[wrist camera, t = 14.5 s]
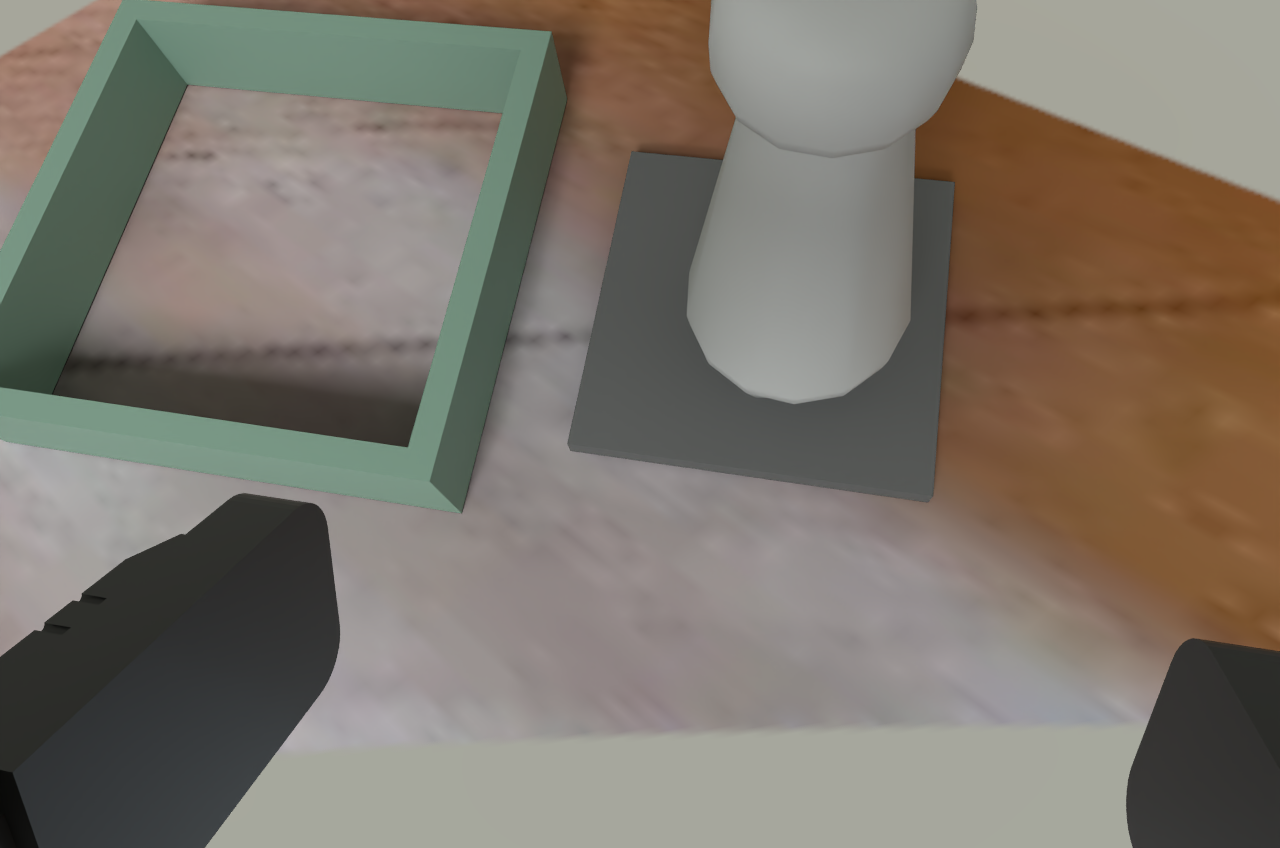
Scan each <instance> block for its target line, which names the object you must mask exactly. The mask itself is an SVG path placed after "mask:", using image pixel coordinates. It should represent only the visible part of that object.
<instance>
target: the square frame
mask: <svg viewBox="0 0 1280 848" xmlns="http://www.w3.org/2000/svg"><path fill="white" fill-rule="evenodd" d="M187 85H198V86H209V87H220V88H231V89H242V90H253V91H264V92H275V93H286V94H297V95H308V96H319V97H330V98H341V99H352V100H363V101H374V102H385V103H396V104H407V105H418V106H429V107H440V108H451V109H462V110H473V111H484V112H495V113H503V114H502V118H501V121H500V125H499V128H498V132H497V135H496V139H495V142H494V146H493V149H492V153H491V156H490V160H489V163H488V167H487V170H486V174H485V178H484V181H483V185H482V188H481V192H480V195H479V199H478V202H477V206H476V209H475V213H474V216H473V220H472V223H471V227H470V230H469V234H468V237H467V241H466V244H465V248H464V252H463V255H462V259H461V262H460V266H459V269H458V273H457V276H456V280H455V283H454V287H453V290H452V294H451V297H450V301H449V304H448V308H447V311H446V315H445V318H444V322H443V326H442V329H441V333H440V336H439V340H438V343H437V347H436V350H435V354H434V357H433V361H432V364H431V368H430V371H429V375H428V378H427V382H426V385H425V389H424V392H423V396H422V400H421V403H420V407H419V410H418V414H417V417H416V421H415V424H414V428H413V431H412V435H411V438H410V442H409V445H408V448H407V447H401V446H394V445H387V444H380V443H374V442H367V441H360V440H353V439H347V438H340V437H333V436H326V435H319V434H313V433H306V432H299V431H292V430H286V429H279V428H272V427H265V426H259V425H252V424H245V423H238V422H232V421H225V420H218V419H211V418H205V417H198V416H191V415H184V414H177V413H171V412H164V411H157V410H150V409H144V408H137V407H130V406H123V405H117V404H110V403H103V402H96V401H90V400H83V399H76V398H69V397H63V396H56V395H52V393H53V390H54V388H55V386H56V383H57V381H58V379H59V377H60V374H61V372H62V370H63V367H64V365H65V363H66V361H67V358H68V356H69V354H70V351H71V349H72V347H73V345H74V342H75V340H76V338H77V335H78V333H79V331H80V329H81V326H82V324H83V322H84V319H85V317H86V315H87V313H88V310H89V308H90V306H91V303H92V301H93V299H94V297H95V294H96V292H97V290H98V288H99V285H100V283H101V281H102V278H103V276H104V274H105V272H106V269H107V267H108V265H109V262H110V260H111V258H112V256H113V253H114V251H115V249H116V246H117V244H118V242H119V240H120V237H121V235H122V233H123V230H124V228H125V226H126V224H127V221H128V219H129V217H130V214H131V212H132V210H133V208H134V205H135V203H136V201H137V198H138V196H139V194H140V192H141V189H142V187H143V185H144V182H145V180H146V178H147V176H148V173H149V171H150V169H151V166H152V164H153V162H154V160H155V157H156V155H157V153H158V150H159V148H160V146H161V144H162V141H163V139H164V137H165V134H166V132H167V130H168V128H169V125H170V123H171V121H172V118H173V116H174V114H175V112H176V109H177V107H178V105H179V102H180V100H181V98H182V96H183V93H184V91H185V89H186V86H187ZM566 102H567V96H566V92H565V88H564V83H563V79H562V75H561V70H560V66H559V62H558V57H557V53H556V49H555V44H554V40H553V36H552V32H551V31H538V30H525V29H512V28H499V27H486V26H473V25H460V24H447V23H434V22H421V21H408V20H395V19H382V18H369V17H356V16H343V15H330V14H317V13H304V12H291V11H278V10H265V9H252V8H239V7H226V6H213V5H200V4H187V3H174V2H161V1H148V0H122V3H121V5H120V7H119V9H118V11H117V13H116V15H115V17H114V19H113V21H112V23H111V25H110V27H109V29H108V31H107V33H106V35H105V37H104V39H103V41H102V44H101V46H100V48H99V50H98V52H97V54H96V56H95V58H94V60H93V62H92V64H91V66H90V68H89V70H88V72H87V74H86V76H85V78H84V80H83V82H82V85H81V87H80V89H79V91H78V93H77V95H76V97H75V99H74V101H73V103H72V105H71V107H70V109H69V111H68V113H67V115H66V117H65V119H64V121H63V123H62V125H61V128H60V130H59V132H58V134H57V136H56V138H55V140H54V142H53V144H52V146H51V148H50V150H49V152H48V154H47V156H46V158H45V160H44V162H43V164H42V166H41V169H40V171H39V173H38V175H37V177H36V179H35V181H34V183H33V185H32V187H31V189H30V191H29V193H28V195H27V197H26V199H25V201H24V203H23V205H22V207H21V210H20V212H19V214H18V216H17V218H16V220H15V222H14V224H13V226H12V228H11V230H10V232H9V234H8V236H7V238H6V240H5V242H4V244H3V246H2V248H1V251H0V439H2V440H4V441H6V442H12V443H18V444H24V445H31V446H37V447H43V448H50V449H56V450H62V451H69V452H75V453H81V454H88V455H94V456H100V457H107V458H113V459H119V460H126V461H132V462H139V463H145V464H151V465H158V466H164V467H170V468H177V469H183V470H189V471H196V472H202V473H208V474H215V475H221V476H227V477H234V478H240V479H247V480H253V481H259V482H266V483H272V484H278V485H285V486H291V487H297V488H304V489H310V490H316V491H323V492H329V493H335V494H342V495H348V496H355V497H361V498H367V499H374V500H380V501H386V502H393V503H399V504H405V505H412V506H418V507H424V508H431V509H437V510H443V511H450V512H456V513H462V510H463V506H464V502H465V498H466V494H467V490H468V486H469V482H470V478H471V474H472V470H473V467H474V463H475V459H476V455H477V451H478V447H479V443H480V439H481V435H482V431H483V427H484V423H485V419H486V416H487V412H488V408H489V404H490V400H491V396H492V392H493V388H494V384H495V380H496V376H497V372H498V369H499V365H500V361H501V357H502V353H503V349H504V345H505V341H506V337H507V333H508V329H509V325H510V322H511V318H512V314H513V310H514V306H515V302H516V298H517V294H518V290H519V286H520V282H521V278H522V275H523V271H524V267H525V263H526V259H527V255H528V251H529V247H530V243H531V239H532V235H533V231H534V227H535V224H536V220H537V216H538V212H539V208H540V204H541V200H542V196H543V192H544V188H545V184H546V180H547V177H548V173H549V169H550V165H551V161H552V157H553V153H554V149H555V145H556V141H557V137H558V133H559V130H560V126H561V122H562V118H563V114H564V110H565V106H566Z"/></svg>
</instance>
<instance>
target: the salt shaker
mask: <svg viewBox="0 0 1280 848" xmlns="http://www.w3.org/2000/svg"><path fill="white" fill-rule="evenodd" d="M976 11H977V5H976V0H711V15H710V30H709V56H710V69H711V73H712V75H713V77H714V79H715V81H716V83H717V85H718V87H719V89H720V90H721V92H722V94H723V96H724V97H725V99H726V101H727V103H728V104H729V106H730V108H731V109H732V111H733V113H734V115H735V116H736V119H735V122H734V126H733V129H732V132H731V136H730V139H729V142H728V146H727V149H726V152H725V156H724V159H723V162H722V165H721V169H720V172H719V175H718V179H717V182H716V185H715V189H714V192H713V195H712V199H711V202H710V205H709V209H708V212H707V215H706V219H705V222H704V225H703V228H702V232H701V235H700V238H699V242H698V245H697V248H696V252H695V255H694V258H693V262H692V265H691V268H690V272H689V285H688V302H687V318H688V321H689V323H690V326H691V328H692V330H693V332H694V334H695V336H696V338H697V340H698V342H699V344H700V347H701V349H702V351H703V353H704V355H705V357H706V359H707V361H708V363H709V364H710V365H711V366H712V367H713V368H715V369H716V370H717V371H719V372H720V373H721V374H722V375H724V376H725V377H726V378H727V379H729V380H730V381H731V382H733V383H734V384H735V385H736V386H738V387H739V388H740V389H742V390H743V391H744V392H745V393H747V394H749V395H751V396H754V397H756V398H769V399H774V400H778V401H782V402H786V403H791V404H798V403H804V402H810V401H816V400H822V399H829V398H835V397H841V396H844V395H846V394H847V393H848V392H850V391H851V390H853V389H854V388H855V387H857V386H858V385H859V384H861V383H862V382H864V381H865V380H866V379H868V378H869V377H870V376H872V375H873V374H875V373H876V372H877V371H879V370H880V369H881V368H882V367H883V366H884V365H885V364H886V363H887V362H888V361H889V359H890V357H891V355H892V353H893V352H894V350H895V348H896V346H897V344H898V342H899V341H900V339H901V337H902V335H903V333H904V331H905V330H906V328H907V326H908V324H909V322H910V320H911V282H912V244H913V206H914V168H915V130H916V128H918V127H919V126H921V125H922V124H923V123H925V122H926V121H928V120H929V119H930V118H931V117H932V116H933V115H934V114H935V113H936V112H937V110H938V109H939V107H940V105H941V103H942V102H943V100H944V98H945V96H946V95H947V93H948V91H949V89H950V88H951V86H952V84H953V82H954V80H955V79H956V77H957V75H958V73H959V72H960V70H961V68H962V65H963V63H964V61H965V58H966V56H967V54H968V52H969V50H970V47H971V45H972V43H973V39H974V30H975V20H976Z"/></svg>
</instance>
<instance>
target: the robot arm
mask: <svg viewBox="0 0 1280 848" xmlns="http://www.w3.org/2000/svg"><path fill="white" fill-rule="evenodd" d="M339 642H340V624H339V616H338V607H337V599H336V591H335V583H334V575H333V567H332V558H331V550H330V542H329V534H328V526H327V521H326V518H325V515H324V513H323V511H322V510H321V509H320V508H319V506H317V505H315V504H312V503H306V502H300V501H293V500H287V499H280V498H273V497H267V496H260V495H253V494H247V493H243V494H238V495H236V496H233V497H232V498H230V499H229V500H228V501H226V502H225V503H224V504H223V505H221V506H220V507H219V508H218V509H216V510H215V511H214V512H213V513H212V514H210V515H209V516H208V517H207V518H205V519H204V520H203V521H202V522H200V523H199V524H198V525H197V526H196V527H194V528H193V529H192V530H191V531H189V532H188V533H187V534H186V535H184V534H180V535H178V536H176V537H173V538H171V539H169V540H167V541H165V542H162V543H160V544H158V545H156V546H154V547H152V548H149V549H147V550H145V551H143V552H141V553H139V554H136V555H134V556H132V557H130V558H128V559H126V560H124V561H123V562H122V563H120V564H119V565H118V566H117V567H115V568H114V569H113V570H111V571H110V572H109V573H108V574H106V575H105V576H104V577H102V578H101V579H100V580H99V581H97V582H96V583H95V584H93V585H92V586H91V587H90V588H88V589H87V590H86V591H84V592H83V593H82V597H81V600H80V601H79V602H78V601H72V602H70V603H69V604H68V605H66V606H65V607H64V608H63V609H61V610H60V611H59V612H57V613H56V614H55V615H54V616H52V617H51V618H50V619H48V620H47V621H46V622H45V625H44V628H43V630H42V631H36V630H34V631H33V632H32V633H30V634H29V635H28V636H27V637H25V638H24V639H23V640H21V641H20V642H19V643H18V644H16V645H15V646H14V647H12V648H11V649H10V650H9V651H7V652H6V653H5V654H3V655H2V656H1V657H0V848H205V847H206V845H207V844H208V843H209V841H210V840H211V839H212V837H213V836H214V835H215V833H216V832H217V831H218V829H219V828H220V827H221V825H222V824H223V823H224V821H225V820H226V819H227V817H228V816H229V815H230V813H231V812H232V811H233V809H234V808H235V807H236V805H237V804H238V803H239V801H240V800H241V799H242V797H243V796H244V795H245V793H246V792H247V791H248V789H249V788H250V787H251V785H252V784H253V782H254V781H255V780H256V779H257V777H258V776H259V775H260V773H261V772H262V771H263V769H264V768H265V767H266V765H267V764H268V763H269V761H270V760H271V759H272V757H273V756H274V755H275V753H276V752H277V751H278V749H279V748H280V747H281V746H282V744H283V743H284V742H285V740H286V739H287V738H288V736H289V735H290V734H291V732H292V731H293V730H294V728H295V727H296V726H297V724H298V723H299V722H300V720H301V719H302V718H303V716H304V715H305V714H306V712H307V711H308V710H309V708H310V707H311V706H312V704H313V703H314V702H315V700H316V699H317V698H318V696H319V695H320V694H321V692H322V691H323V689H324V688H325V686H326V684H327V682H328V680H329V678H330V676H331V674H332V671H333V668H334V665H335V662H336V658H337V654H338V649H339ZM1126 808H1127V809H1126V811H1127V823H1128V830H1129V835H1130V839H1131V843H1132V846H1133V848H1280V651H1274V650H1268V649H1261V648H1254V647H1248V646H1241V645H1235V644H1228V643H1221V642H1215V641H1208V640H1201V639H1194V638H1193V639H1189V640H1187V641H1185V642H1184V643H1183V644H1182V645H1181V646H1180V647H1179V648H1178V650H1177V651H1176V653H1175V655H1174V657H1173V660H1172V662H1171V664H1170V667H1169V670H1168V672H1167V675H1166V678H1165V680H1164V683H1163V685H1162V688H1161V691H1160V693H1159V696H1158V699H1157V701H1156V704H1155V706H1154V709H1153V712H1152V714H1151V717H1150V720H1149V722H1148V725H1147V727H1146V730H1145V733H1144V735H1143V738H1142V741H1141V743H1140V746H1139V749H1138V751H1137V754H1136V756H1135V759H1134V762H1133V765H1132V767H1131V771H1130V774H1129V779H1128V786H1127V797H1126Z"/></svg>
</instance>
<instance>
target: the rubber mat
mask: <svg viewBox="0 0 1280 848" xmlns="http://www.w3.org/2000/svg"><path fill="white" fill-rule="evenodd" d="M722 162H723V160H717V159H706V158H696V157H685V156H675V155H664V154H654V153H643V152H633V151H632V152H631V156H630V161H629V165H628V170H627V174H626V179H625V184H624V188H623V193H622V197H621V202H620V206H619V211H618V215H617V220H616V225H615V229H614V234H613V238H612V243H611V247H610V252H609V256H608V261H607V266H606V270H605V275H604V279H603V284H602V288H601V293H600V297H599V302H598V307H597V311H596V316H595V320H594V325H593V329H592V334H591V338H590V343H589V348H588V352H587V357H586V361H585V366H584V370H583V375H582V379H581V384H580V389H579V393H578V398H577V402H576V407H575V411H574V416H573V420H572V425H571V430H570V434H569V439H568V443H567V444H568V446H569V448H570V450H571V451H576V452H583V453H590V454H597V455H604V456H611V457H618V458H625V459H631V460H638V461H645V462H652V463H659V464H666V465H673V466H680V467H687V468H694V469H701V470H708V471H715V472H721V473H728V474H735V475H742V476H749V477H756V478H763V479H770V480H777V481H784V482H791V483H798V484H804V485H811V486H818V487H825V488H832V489H839V490H846V491H853V492H860V493H867V494H874V495H881V496H888V497H894V498H901V499H908V500H915V501H922V502H929V501H930V499H931V498H932V497H933V489H934V475H935V460H936V446H937V431H938V417H939V403H940V388H941V374H942V360H943V345H944V331H945V316H946V302H947V288H948V273H949V259H950V244H951V230H952V216H953V201H954V187H955V182H948V181H937V180H927V179H916V178H914V206H913V244H912V282H911V320H910V322H909V324H908V326H907V328H906V330H905V331H904V333H903V335H902V337H901V339H900V341H899V342H898V344H897V346H896V348H895V350H894V352H893V353H892V355H891V357H890V359H889V361H888V362H887V363H886V364H885V365H884V366H883V367H882V368H881V369H880V370H879V371H877V372H876V373H875V374H873V375H872V376H870V377H869V378H868V379H866V380H865V381H864V382H862V383H861V384H859V385H858V386H857V387H855V388H854V389H853V390H851V391H850V392H848V393H847V394H846V395H844V396H841V397H835V398H829V399H822V400H816V401H810V402H804V403H798V404H791V403H786V402H782V401H778V400H774V399H769V398H756V397H754V396H751V395H749V394H747V393H745V392H744V391H743V390H742V389H740V388H739V387H738V386H736V385H735V384H734V383H733V382H731V381H730V380H729V379H727V378H726V377H725V376H724V375H722V374H721V373H720V372H719V371H717V370H716V369H715V368H713V367H712V366H711V365H710V364H709V363H708V361H707V359H706V357H705V355H704V353H703V351H702V349H701V347H700V344H699V342H698V340H697V338H696V336H695V334H694V332H693V330H692V328H691V326H690V323H689V321H688V318H687V302H688V285H689V272H690V268H691V265H692V262H693V258H694V255H695V252H696V248H697V245H698V242H699V238H700V235H701V232H702V228H703V225H704V222H705V219H706V215H707V212H708V209H709V205H710V202H711V199H712V195H713V192H714V189H715V185H716V182H717V179H718V175H719V172H720V169H721V165H722Z"/></svg>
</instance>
